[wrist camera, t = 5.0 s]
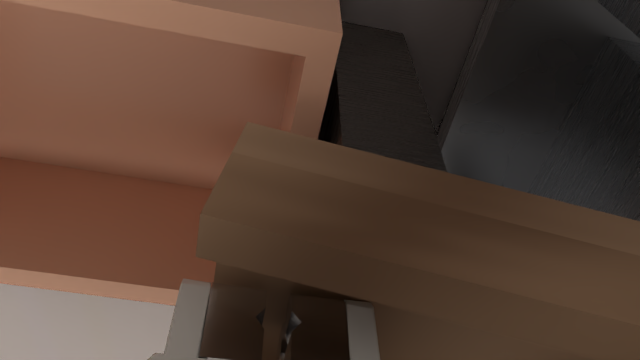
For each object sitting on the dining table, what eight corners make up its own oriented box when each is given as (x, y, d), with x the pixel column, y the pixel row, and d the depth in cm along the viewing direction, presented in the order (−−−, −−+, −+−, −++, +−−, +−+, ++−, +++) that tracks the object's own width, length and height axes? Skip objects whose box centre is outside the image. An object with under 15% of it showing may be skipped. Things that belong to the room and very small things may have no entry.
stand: (813, -38, 15) (1371, 194, 7) (584, 299, 23) (734, 598, 15) (368, -142, 14) (449, 7, 6) (279, 255, 21) (260, 562, 13)
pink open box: (334, -42, 15) (343, 33, 11) (282, 203, 20) (274, 318, 16) (-87, -130, 14) (-251, -81, 10) (-36, 154, 19) (-133, 266, 15)
